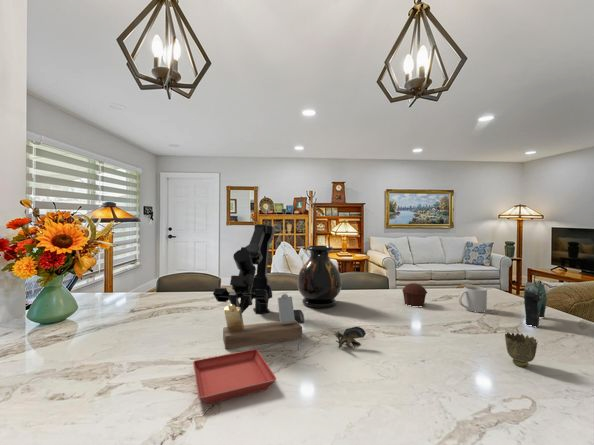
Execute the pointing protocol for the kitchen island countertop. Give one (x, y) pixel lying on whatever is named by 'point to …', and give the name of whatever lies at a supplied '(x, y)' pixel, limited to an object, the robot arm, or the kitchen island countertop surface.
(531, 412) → the kitchen island countertop surface
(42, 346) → the kitchen island countertop surface
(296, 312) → the phone
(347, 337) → the eagle figurine
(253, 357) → the plant saucer
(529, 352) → the cup
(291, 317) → the slate lever
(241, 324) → the brass lever
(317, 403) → the kitchen island countertop surface
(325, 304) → the amphora vase
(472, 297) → the mug
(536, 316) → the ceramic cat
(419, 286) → the muffin
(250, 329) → the walnut panel
